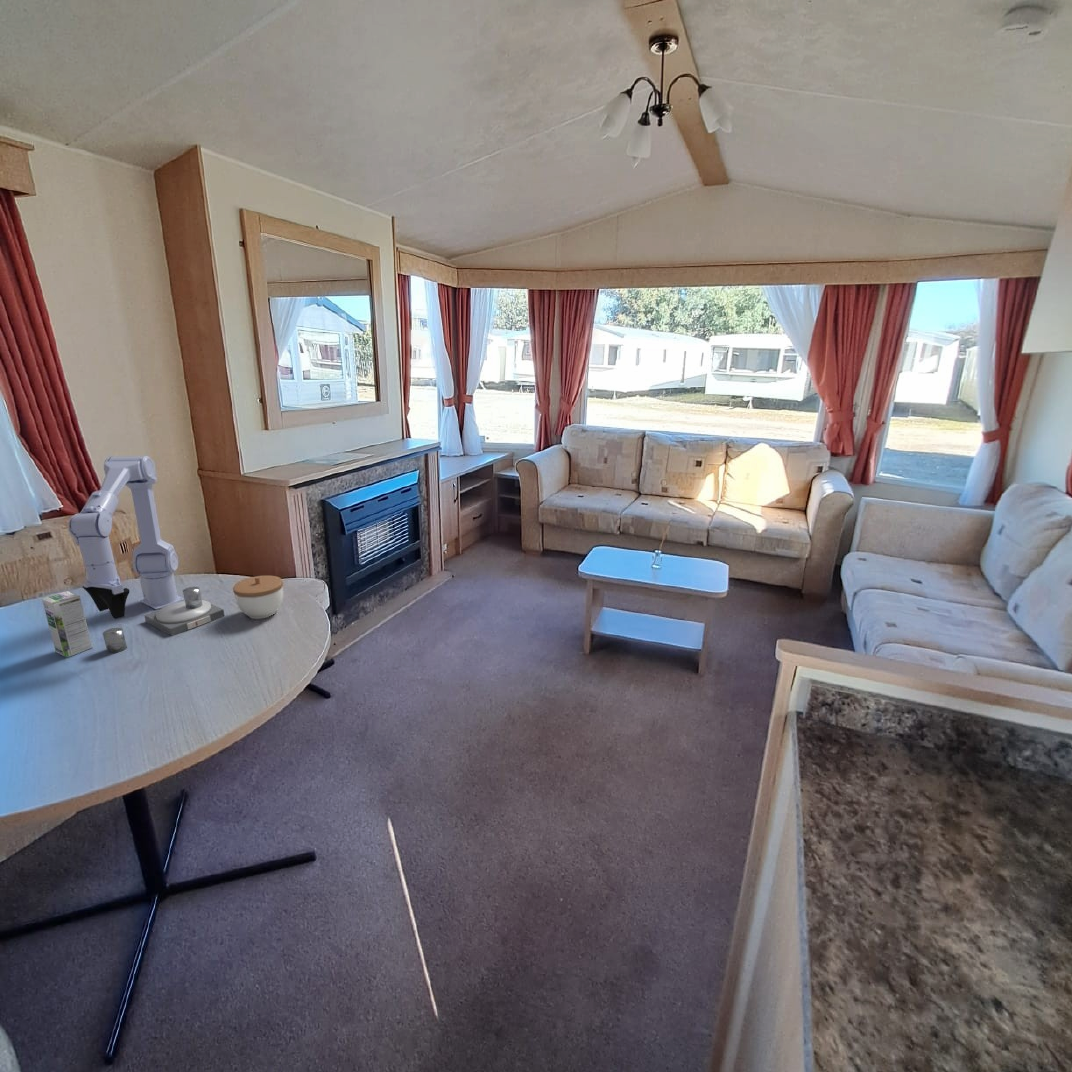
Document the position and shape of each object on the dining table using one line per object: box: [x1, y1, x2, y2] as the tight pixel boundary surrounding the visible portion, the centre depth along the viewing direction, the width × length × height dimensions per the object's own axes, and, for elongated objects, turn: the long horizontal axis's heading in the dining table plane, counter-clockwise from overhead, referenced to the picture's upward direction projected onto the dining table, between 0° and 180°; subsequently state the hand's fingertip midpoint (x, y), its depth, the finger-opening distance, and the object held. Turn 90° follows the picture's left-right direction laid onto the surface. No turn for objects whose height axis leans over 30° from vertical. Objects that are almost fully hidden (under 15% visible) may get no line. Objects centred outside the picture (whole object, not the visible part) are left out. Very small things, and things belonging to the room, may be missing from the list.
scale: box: [143, 599, 225, 637], centre depth 156 cm, size 15×14×3 cm
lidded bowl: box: [232, 575, 284, 620], centre depth 159 cm, size 13×13×11 cm
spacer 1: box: [102, 627, 128, 654], centre depth 140 cm, size 4×4×5 cm
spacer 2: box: [182, 586, 203, 609], centre depth 157 cm, size 4×4×5 cm
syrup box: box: [41, 590, 93, 658], centre depth 138 cm, size 6×6×14 cm
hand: (111, 613), depth 138 cm, fingers open, 7 cm apart
